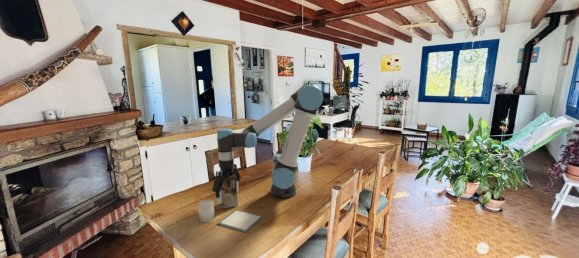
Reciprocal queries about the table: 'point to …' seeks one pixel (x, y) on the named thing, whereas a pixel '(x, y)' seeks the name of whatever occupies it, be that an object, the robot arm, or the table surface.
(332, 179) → the table surface
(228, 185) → the coffee box
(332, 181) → the table surface
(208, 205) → the cream capsule pill
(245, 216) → the mat
